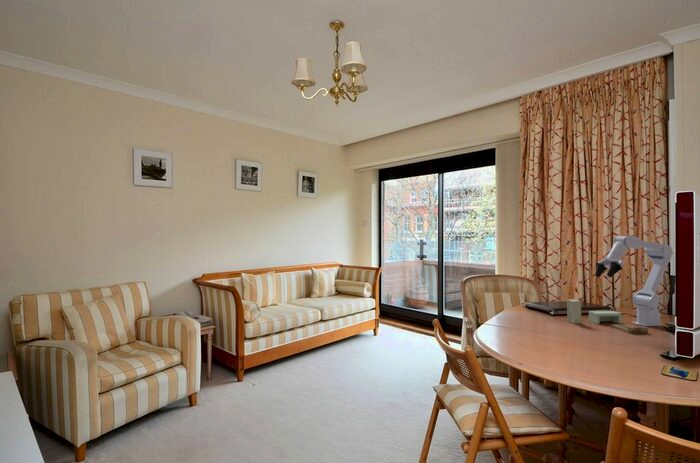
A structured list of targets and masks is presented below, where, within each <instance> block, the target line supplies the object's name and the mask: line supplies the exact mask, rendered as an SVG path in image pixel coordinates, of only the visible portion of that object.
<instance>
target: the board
mask: <svg viewBox="0 0 700 463" xmlns="http://www.w3.org/2000/svg"><path fill="white" fill-rule="evenodd" d="M610 328H613V329H615V330H618V331H621V332H624V333H627V334H630V335H633V334H635V335H636V334H638V333H640V334H648V333H649V328H648V326H633V325H630V324H622V323H621V324H610Z"/></svg>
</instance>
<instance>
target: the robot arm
mask: <svg viewBox="0 0 700 463" xmlns="http://www.w3.org/2000/svg"><path fill="white" fill-rule="evenodd" d="M641 248H642V249H643V248H644V252H645V254H646V255H647V257H648V258H649V260H650V261H651V262H652V263H653V265H652V268H651V270H650V272H649V274H648V277H647V279H646V281H645V284H644V287H643V288H642V289H639V290H637V291H636V293H635V294H634V295H633V298H632V304H633V305H634V306H635V308H636V321H632V324H633V323H634V324H637V325H639V326H642V327H662V324H661V312H660V310H659V309H658V307H659V304H660V299H661V297H660V295H659V294H658V293H657V290H658V288H659V286H660V284H661V281H662V278H663V276H664V274H665V271H666V269H667V267H668V264H669V263H670V261H671V259H672V257H673V254H674V252H673V249H672V246H670V245H669V244H667V245H666V244H664V243H659V242H653V241H643V240H642V239H641V238H639V237H638V236H632V235H618V236H616V237H614V239H613V243H612V247H611V249H610V250H609V252H608V254H607V256H605V257H603V259H602V260H599V261H598V262H596V263H595V267H596V269H595V273H594V276H596V277H597V278H601V276H602V274H603V273H605V272H606V271H607V273H606V276H607V277H608V278H612V277H613V276H615V274H616V273H618V272H620V271H621V270H623V266H624V265H625V261H623V260H621V259H622V258H623V256H624V255H625V253H626V251H627V249H634V250H635V249H636V250H637V249H641ZM606 266H608V267H609V269H608V267H606Z"/></svg>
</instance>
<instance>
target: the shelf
mask: <svg viewBox="0 0 700 463" xmlns="http://www.w3.org/2000/svg"><path fill="white" fill-rule="evenodd" d="M588 322H589V323H593V324H596V325H600V323H601V322H613V323H616V324H622V313H621V312H618V311H616V310H589V311H588Z"/></svg>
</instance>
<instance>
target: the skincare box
mask: <svg viewBox="0 0 700 463" xmlns="http://www.w3.org/2000/svg"><path fill="white" fill-rule="evenodd" d="M566 313H567V314H566V317H567V322H569V323H572V324H575V325H576V324H577V325H579V324H582V300H578V299H575V298H573V299H572V298H571V299H566Z"/></svg>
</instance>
